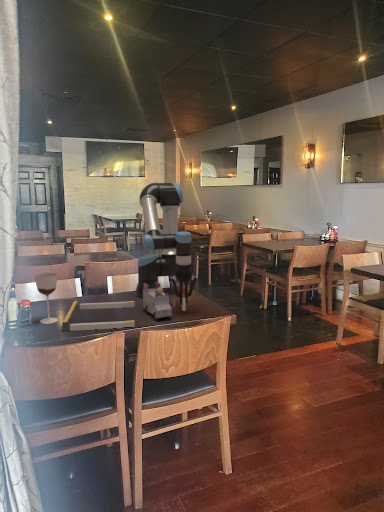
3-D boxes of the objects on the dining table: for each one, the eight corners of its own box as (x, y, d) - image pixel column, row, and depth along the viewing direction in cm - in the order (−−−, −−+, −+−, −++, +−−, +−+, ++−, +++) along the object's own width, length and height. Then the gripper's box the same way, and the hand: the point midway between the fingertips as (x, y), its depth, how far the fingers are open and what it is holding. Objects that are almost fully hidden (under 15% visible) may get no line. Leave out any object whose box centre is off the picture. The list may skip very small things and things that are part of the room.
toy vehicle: (155, 322, 176) (155, 291, 173) (141, 310, 193) (140, 282, 190) (173, 319, 180) (173, 289, 177) (158, 308, 197) (157, 280, 194)
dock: (134, 305, 200) (134, 298, 200) (134, 327, 169) (134, 318, 168) (74, 308, 196) (74, 300, 195) (62, 331, 165) (62, 322, 164)
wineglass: (63, 320, 178) (60, 275, 175) (43, 325, 172) (40, 278, 168) (54, 316, 184) (51, 272, 180) (35, 320, 177) (31, 275, 174)
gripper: (195, 261, 188) (195, 307, 193) (169, 262, 186) (169, 308, 191) (198, 264, 181) (197, 311, 185) (171, 265, 179) (171, 313, 183)
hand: (183, 309), depth 188 cm, fingers closed
